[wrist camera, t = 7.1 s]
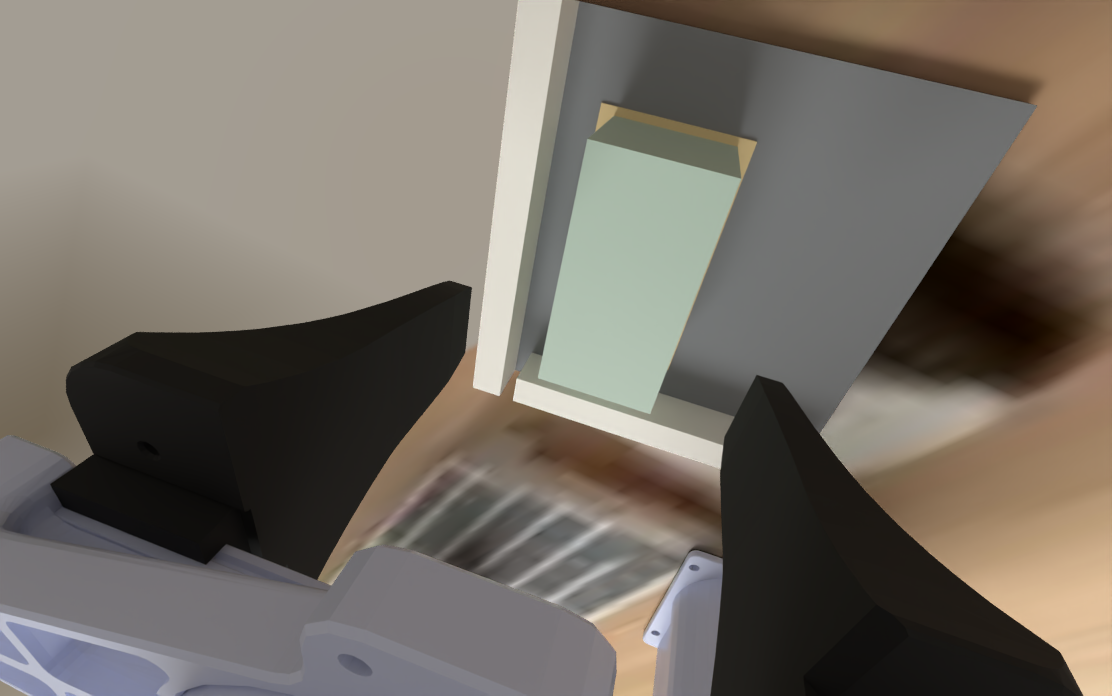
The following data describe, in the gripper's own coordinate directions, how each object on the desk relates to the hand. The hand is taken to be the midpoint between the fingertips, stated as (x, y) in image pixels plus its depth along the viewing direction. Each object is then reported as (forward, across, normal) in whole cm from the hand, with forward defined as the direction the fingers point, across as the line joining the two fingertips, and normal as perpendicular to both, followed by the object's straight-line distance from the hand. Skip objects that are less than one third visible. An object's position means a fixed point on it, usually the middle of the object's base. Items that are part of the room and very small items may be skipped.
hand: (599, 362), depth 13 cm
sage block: (+7, 0, 0) cm, 7 cm away
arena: (+8, -2, 0) cm, 8 cm away
